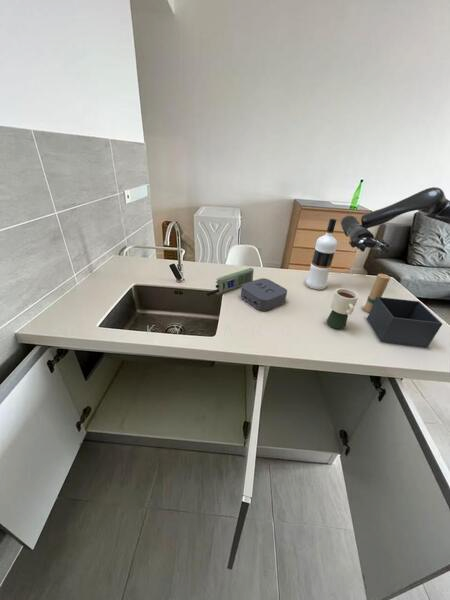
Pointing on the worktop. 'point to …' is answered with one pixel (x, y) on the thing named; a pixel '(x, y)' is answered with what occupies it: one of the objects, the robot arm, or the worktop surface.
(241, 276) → the handheld radio
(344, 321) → the character mug
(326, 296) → the worktop surface
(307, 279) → the vodka
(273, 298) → the streaming box
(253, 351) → the worktop surface
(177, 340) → the worktop surface
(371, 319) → the bin
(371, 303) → the banded cardboard tube
